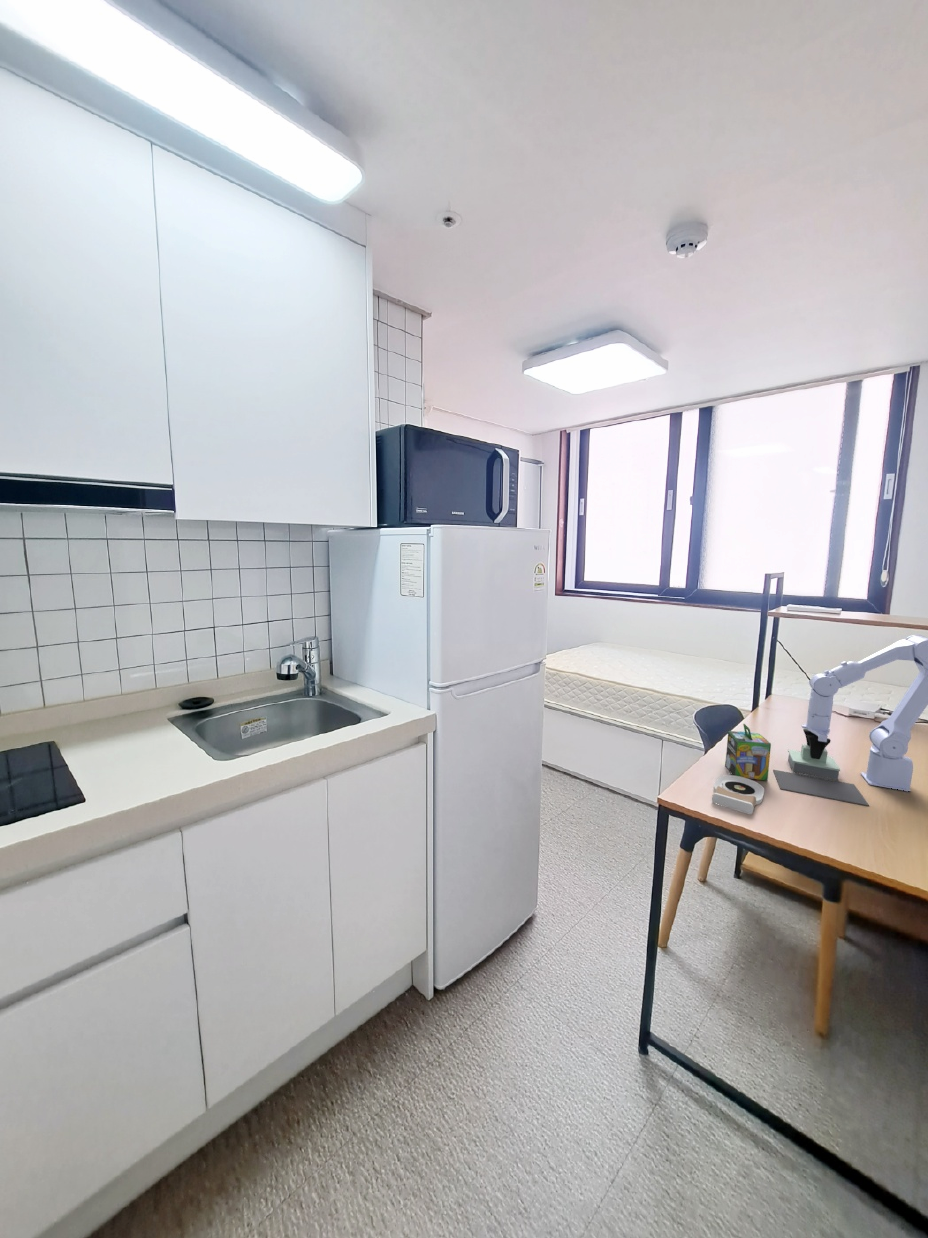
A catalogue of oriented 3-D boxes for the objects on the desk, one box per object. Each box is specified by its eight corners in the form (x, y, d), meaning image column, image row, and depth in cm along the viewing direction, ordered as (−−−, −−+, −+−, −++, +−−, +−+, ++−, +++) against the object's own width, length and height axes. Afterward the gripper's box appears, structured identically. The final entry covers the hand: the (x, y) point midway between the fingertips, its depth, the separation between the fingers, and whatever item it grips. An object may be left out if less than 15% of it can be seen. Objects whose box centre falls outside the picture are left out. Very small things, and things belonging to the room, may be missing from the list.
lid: (831, 761, 150) (834, 746, 149) (839, 773, 141) (841, 758, 141) (787, 753, 155) (789, 739, 154) (792, 765, 146) (794, 749, 146)
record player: (707, 791, 128) (721, 766, 144) (706, 802, 129) (720, 776, 144) (758, 806, 121) (767, 778, 137) (757, 818, 122) (765, 788, 137)
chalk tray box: (829, 769, 150) (831, 758, 150) (837, 781, 142) (839, 770, 142) (787, 762, 155) (789, 751, 154) (793, 773, 147) (794, 762, 146)
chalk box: (768, 782, 140) (774, 733, 138) (733, 778, 142) (739, 730, 140) (756, 768, 149) (761, 722, 147) (723, 764, 151) (728, 719, 149)
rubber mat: (853, 785, 139) (854, 784, 139) (869, 806, 128) (869, 805, 128) (773, 770, 148) (773, 769, 148) (780, 789, 136) (780, 788, 136)
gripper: (798, 704, 154) (793, 745, 156) (808, 718, 141) (803, 762, 143) (825, 708, 151) (819, 749, 153) (838, 722, 138) (832, 767, 140)
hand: (813, 756), depth 148 cm, fingers open, 3 cm apart
